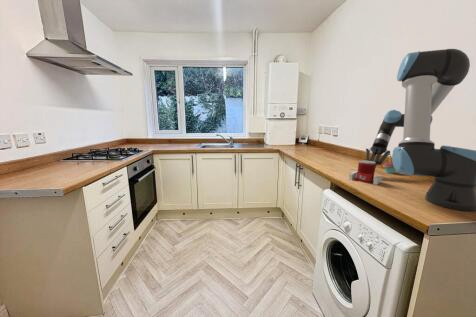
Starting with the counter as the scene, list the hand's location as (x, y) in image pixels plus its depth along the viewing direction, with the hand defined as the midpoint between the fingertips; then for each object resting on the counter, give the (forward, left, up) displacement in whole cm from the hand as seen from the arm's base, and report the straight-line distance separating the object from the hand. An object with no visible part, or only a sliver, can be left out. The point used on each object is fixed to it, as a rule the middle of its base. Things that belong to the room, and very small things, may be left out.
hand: (369, 172), depth 119 cm
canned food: (-5, +6, -4) cm, 8 cm away
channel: (-5, +6, -4) cm, 8 cm away
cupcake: (+13, -24, -4) cm, 27 cm away
